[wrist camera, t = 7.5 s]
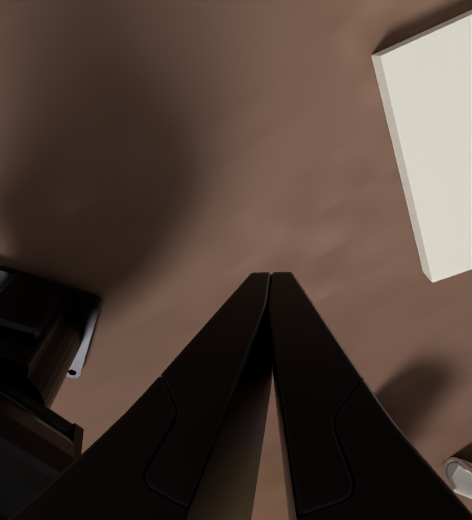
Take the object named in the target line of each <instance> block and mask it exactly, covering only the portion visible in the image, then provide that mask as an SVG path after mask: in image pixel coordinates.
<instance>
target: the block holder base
mask: <svg viewBox="0 0 472 520" xmlns="http://www.w3.org/2000/svg"><path fill="white" fill-rule="evenodd" d="M371 56H372V61H373V65H374V69H375V73H376V77H377V82H378V86H379V90H380V94H381V98H382V102H383V107H384V111H385V115H386V119H387V123H388V127H389V132H390V136H391V140H392V144H393V148H394V152H395V157H396V161H397V165H398V169H399V173H400V177H401V182H402V186H403V190H404V194H405V198H406V202H407V207H408V211H409V215H410V219H411V223H412V228H413V232H414V236H415V240H416V244H417V248H418V253H419V257H420V261H421V265H422V269H423V272H424V273H425V274H426V276H427V277H428V278H429V279H430V280H431V281H432V283H433V282H436V281H439V280H442V279H445V278H447V277H450V276H453V275H456V274H459V273H462V272H465V271H468V270H471V269H472V10H470V11H467V12H465V13H463V14H461V15H459V16H456V17H454V18H452V19H450V20H448V21H445V22H443V23H441V24H439V25H437V26H434V27H432V28H430V29H428V30H426V31H423V32H421V33H419V34H417V35H415V36H412V37H410V38H408V39H406V40H404V41H401V42H399V43H397V44H395V45H393V46H390V47H388V48H386V49H384V50H382V51H379V52H377V53H375V54H373V55H371Z"/></svg>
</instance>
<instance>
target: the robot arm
mask: <svg viewBox="0 0 472 520" xmlns="http://www.w3.org/2000/svg"><path fill="white" fill-rule="evenodd" d="M89 301H92V302H94V303H95V305H92V304H90V303H89ZM100 307H101V299H100V297H99V296H97V295H95V294H92V293H89V292H86V291H82V290H79V289H76V288H72V287H69V286H66V285H64V284H60V283H57V282H54V281H50V280H47V279H44V278H41V277H37V276H34V275H31V274H27V273H24V272H20V271H16V270H13V269H10V268H6V267H3V266H0V520H251V516H252V510H253V503H254V497H255V490H256V484H257V477H258V470H259V464H260V457H261V451H262V444H263V437H264V431H265V424H266V418H267V411H268V404H269V398H270V391H271V384H272V375H273V378H274V389H275V398H276V407H277V416H278V425H279V434H280V442H281V451H282V460H283V469H284V478H285V487H286V496H287V505H288V514H289V520H472V513H471V512H470V511H469V510H468V508H467V507H466V506H465V505H464V504H463V503H462V502H461V500H460V499H459V498H458V497H457V496H456V495H455V493H454V492H453V491H452V490H451V489H450V488H449V486H448V485H447V484H446V483H445V482H444V481H443V480H442V478H441V477H440V476H439V475H438V474H437V473H436V471H435V470H434V469H433V468H432V467H431V466H430V465H429V463H428V462H427V461H426V460H425V459H424V458H423V456H422V455H421V454H420V453H419V452H418V451H417V449H416V448H415V447H414V446H413V444H412V443H411V442H410V441H409V440H408V438H407V437H406V436H405V435H404V434H403V432H402V431H401V430H400V429H399V427H398V426H397V425H396V424H395V422H394V421H393V420H392V418H391V417H390V415H389V414H388V413H387V411H386V410H385V409H384V407H383V406H382V404H381V403H380V402H379V400H378V399H377V397H376V396H375V395H374V393H373V392H372V390H371V389H370V387H369V386H368V384H367V383H366V382H365V381H364V379H363V377H362V376H361V374H360V373H359V371H358V370H357V368H356V367H355V365H354V364H353V362H352V361H351V359H350V358H349V356H348V355H347V353H346V352H345V350H344V349H343V347H342V346H341V344H340V343H339V342H338V340H337V339H336V337H335V336H334V334H333V333H332V331H331V330H330V328H329V327H328V325H327V324H326V322H325V321H324V319H323V318H322V316H321V315H320V313H319V312H318V310H317V309H316V307H315V306H314V304H313V303H312V301H311V300H310V299H309V297H308V296H307V294H306V293H305V291H304V290H303V288H302V287H301V285H300V284H299V282H298V281H297V279H296V278H295V276H294V275H293V274H292V273H291V272H274V273H273V274H272V276H271V274H270V273H269V272H260V273H251V274H250V275H249V276H248V277H247V279H246V280H245V281H244V282H243V283H242V284H241V285H240V286H239V288H238V289H237V290H236V291H235V292H234V293H233V294H232V295H231V297H230V298H229V299H228V300H227V301H226V302H225V303H224V304H223V305H222V307H221V308H220V309H219V310H218V311H217V312H216V313H215V314H214V316H213V317H212V318H211V319H210V320H209V321H208V322H207V323H206V325H205V326H204V327H203V328H202V329H201V330H200V331H199V332H198V334H197V335H196V336H195V337H194V338H193V339H192V340H191V341H190V343H189V344H188V345H187V346H186V347H185V348H184V349H183V350H182V352H181V353H180V354H179V355H178V356H177V357H176V358H175V359H174V361H173V362H172V363H171V364H170V365H169V366H168V367H167V368H166V370H165V371H164V372H163V373H162V374H161V376H162V377H158V378H157V379H156V381H155V382H154V383H153V384H152V385H151V386H150V387H149V388H148V390H147V391H146V392H145V393H144V394H143V395H142V396H141V397H140V398H139V399H138V400H137V401H136V402H135V403H134V404H133V406H132V407H131V408H130V409H129V410H128V411H127V412H126V413H125V414H124V415H123V416H122V417H121V418H120V419H119V420H118V421H117V422H116V423H115V424H113V425H112V426H111V427H110V428H109V429H108V430H107V431H106V432H105V433H104V434H103V435H102V436H101V437H100V438H99V439H98V440H97V441H96V442H95V443H93V444H92V445H91V446H90V447H89V448H88V449H87V450H86V451H85V452H84V453H83V454H82V455H81V450H82V441H83V431H84V429H83V428H81V427H80V426H78V425H77V424H75V423H74V424H72V423H70V422H69V421H67V420H66V419H64V418H63V417H61V416H60V415H58V414H57V413H55V412H54V411H52V410H51V409H50V407H51V405H52V403H53V401H54V399H55V397H56V395H57V393H58V391H59V389H60V387H61V385H62V383H63V381H64V379H65V377H69V378H77V377H79V376H80V374H81V372H82V369H83V366H84V362H85V359H86V355H87V352H88V348H89V345H90V341H91V338H92V334H93V331H94V327H95V324H96V321H97V317H98V314H99V310H100ZM71 369H73V370H75V371H73V370H71Z"/></svg>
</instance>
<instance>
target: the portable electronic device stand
mask: <svg viewBox="0 0 472 520" xmlns="http://www.w3.org/2000/svg"><path fill="white" fill-rule="evenodd" d="M443 475H444V478H445V479H446V481H447V482H448V484H449V485H450V487H451V488H452V490H453V491H454V492H456V493H459V494H461V495H463V496H466V497H468V498H470V499H472V463H470V462H468V461H466V460H463V459H459V458H456V457H450V458H448V459H447V460H446V461H445V462H444V464H443Z"/></svg>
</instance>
